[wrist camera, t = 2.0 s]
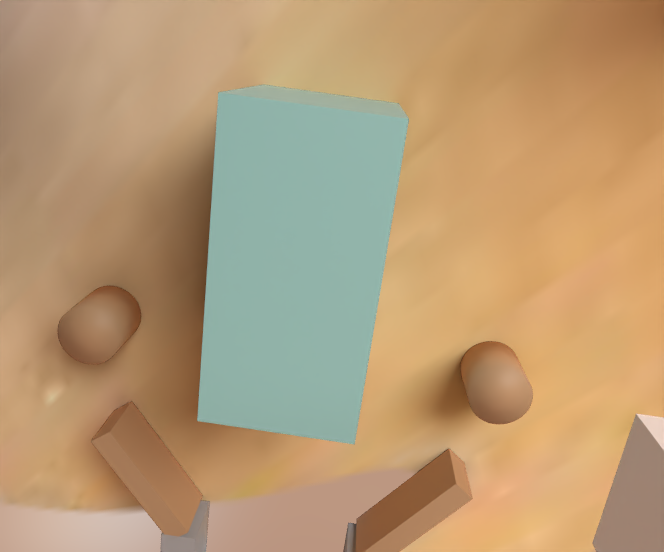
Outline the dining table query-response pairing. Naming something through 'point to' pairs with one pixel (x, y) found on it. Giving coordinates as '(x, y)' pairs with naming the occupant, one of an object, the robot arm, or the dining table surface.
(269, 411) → the pale green block
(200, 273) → the dining table surface
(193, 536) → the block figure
